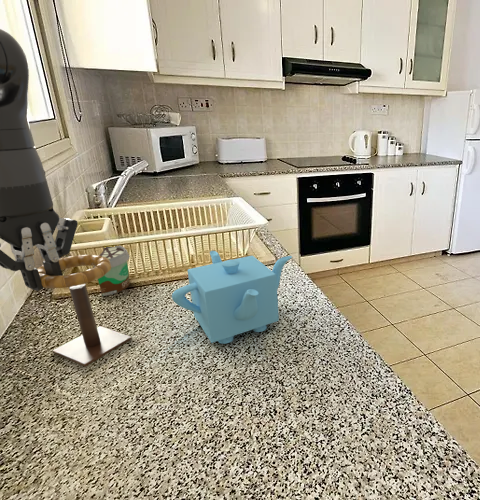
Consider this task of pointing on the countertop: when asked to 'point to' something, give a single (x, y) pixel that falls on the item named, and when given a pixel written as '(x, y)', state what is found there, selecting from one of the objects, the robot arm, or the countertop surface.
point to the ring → (76, 279)
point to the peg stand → (89, 333)
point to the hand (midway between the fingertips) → (46, 285)
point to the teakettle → (232, 296)
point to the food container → (115, 271)
